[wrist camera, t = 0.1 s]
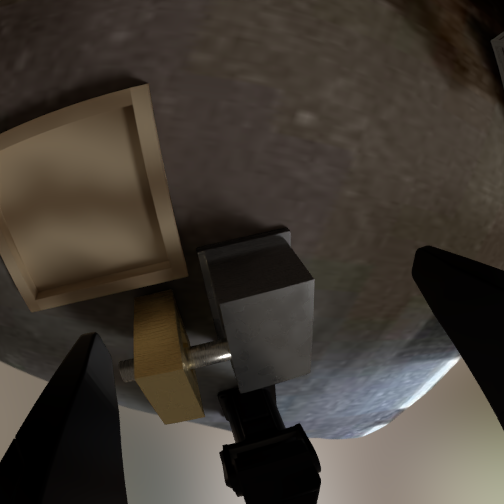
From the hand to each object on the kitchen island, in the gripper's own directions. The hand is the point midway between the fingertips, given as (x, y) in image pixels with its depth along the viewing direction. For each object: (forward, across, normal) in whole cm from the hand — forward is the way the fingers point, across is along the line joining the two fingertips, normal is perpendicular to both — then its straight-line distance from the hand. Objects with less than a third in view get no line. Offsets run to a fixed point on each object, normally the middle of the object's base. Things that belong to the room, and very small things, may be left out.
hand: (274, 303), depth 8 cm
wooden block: (+14, +5, +12) cm, 19 cm away
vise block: (+15, +2, +12) cm, 19 cm away
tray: (+15, +9, +1) cm, 17 cm away
